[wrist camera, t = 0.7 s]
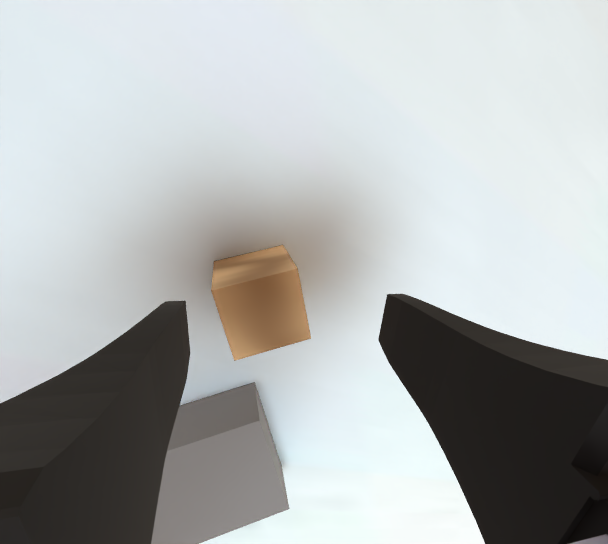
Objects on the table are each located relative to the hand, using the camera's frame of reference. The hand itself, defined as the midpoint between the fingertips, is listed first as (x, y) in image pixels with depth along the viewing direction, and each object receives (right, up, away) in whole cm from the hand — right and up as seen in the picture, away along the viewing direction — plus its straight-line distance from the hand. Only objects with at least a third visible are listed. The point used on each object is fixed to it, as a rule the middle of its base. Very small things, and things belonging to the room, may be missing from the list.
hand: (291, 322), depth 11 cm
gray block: (-7, -12, +14) cm, 20 cm away
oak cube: (-3, +1, +10) cm, 10 cm away
